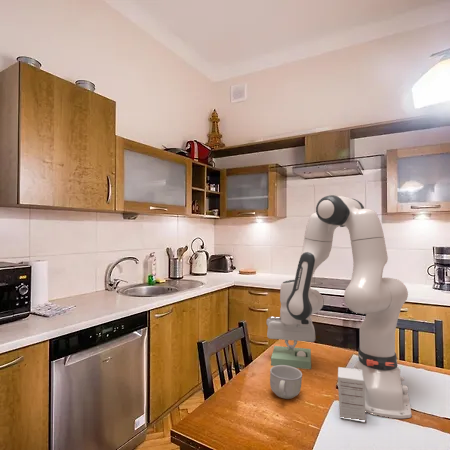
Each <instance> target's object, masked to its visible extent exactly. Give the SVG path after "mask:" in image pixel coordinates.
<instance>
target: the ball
mask: <svg viewBox="0 0 450 450" xmlns="http://www.w3.org/2000/svg"><path fill="white" fill-rule="evenodd" d="M297 356H300V357H306V354H305V352H303V351H299V352H298V353H297Z"/></svg>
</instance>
